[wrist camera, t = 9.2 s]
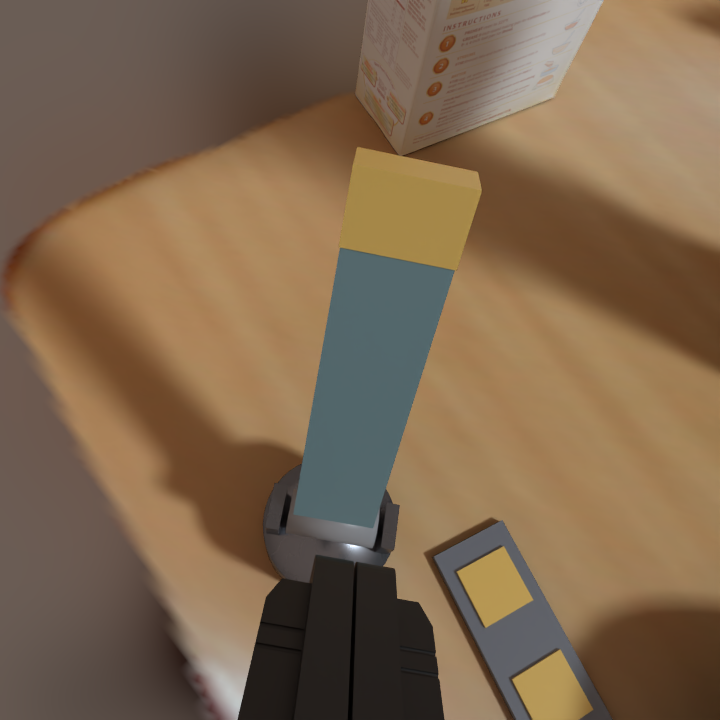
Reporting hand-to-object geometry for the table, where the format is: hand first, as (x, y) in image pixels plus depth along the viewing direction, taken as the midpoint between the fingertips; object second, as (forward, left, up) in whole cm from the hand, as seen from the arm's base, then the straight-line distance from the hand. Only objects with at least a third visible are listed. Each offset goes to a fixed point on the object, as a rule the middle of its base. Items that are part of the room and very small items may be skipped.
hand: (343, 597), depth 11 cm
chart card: (-1, +11, -21) cm, 24 cm away
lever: (-4, 0, -16) cm, 16 cm away
